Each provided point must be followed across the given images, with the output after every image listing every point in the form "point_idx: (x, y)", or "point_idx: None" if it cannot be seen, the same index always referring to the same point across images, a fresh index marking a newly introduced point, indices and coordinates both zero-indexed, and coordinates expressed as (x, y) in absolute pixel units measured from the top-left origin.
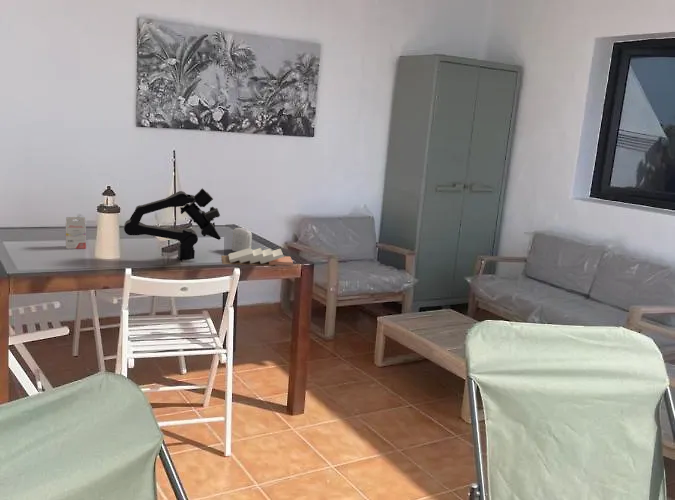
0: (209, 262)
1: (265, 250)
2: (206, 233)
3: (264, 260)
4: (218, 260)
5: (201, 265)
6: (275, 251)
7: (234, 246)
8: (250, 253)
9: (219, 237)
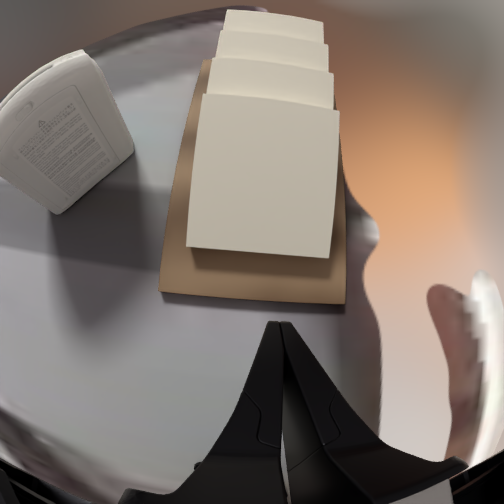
0: None
1: (231, 51)
2: (493, 464)
3: None
4: (236, 317)
5: None
6: (249, 28)
7: (59, 193)
8: (333, 122)
9: (297, 340)
